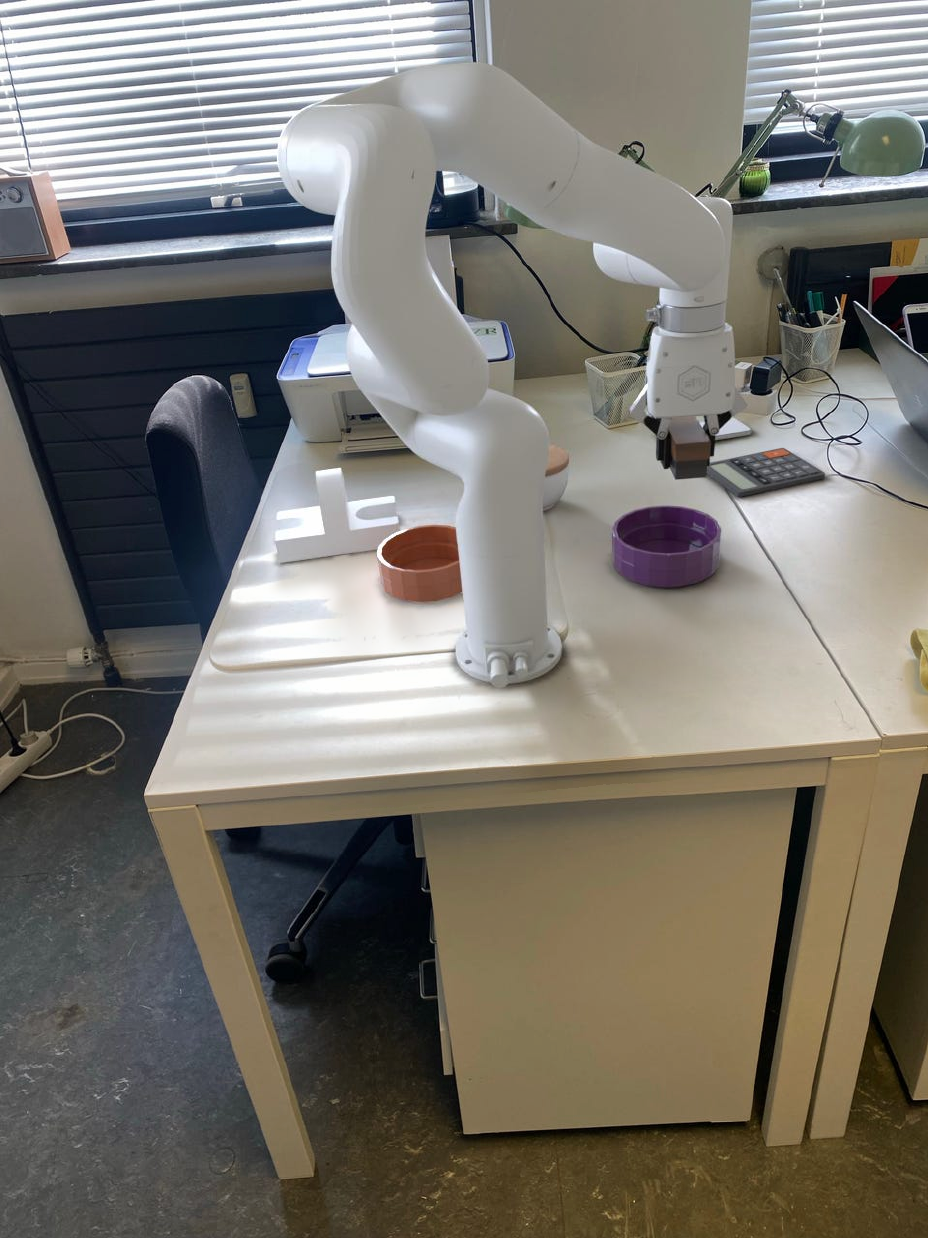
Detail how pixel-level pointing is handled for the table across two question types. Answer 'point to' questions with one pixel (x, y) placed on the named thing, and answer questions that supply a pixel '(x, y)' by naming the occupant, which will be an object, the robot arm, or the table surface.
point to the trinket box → (555, 476)
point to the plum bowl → (666, 546)
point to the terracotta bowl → (421, 563)
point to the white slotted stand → (334, 523)
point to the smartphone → (732, 429)
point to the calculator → (763, 472)
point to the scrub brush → (688, 448)
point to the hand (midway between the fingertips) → (684, 461)
